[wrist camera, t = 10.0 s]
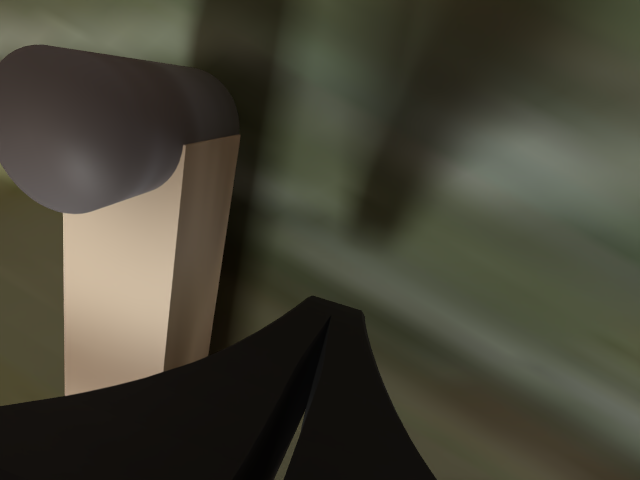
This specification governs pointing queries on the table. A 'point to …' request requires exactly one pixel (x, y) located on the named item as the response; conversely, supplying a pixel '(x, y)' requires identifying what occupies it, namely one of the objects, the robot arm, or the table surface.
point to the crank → (125, 200)
